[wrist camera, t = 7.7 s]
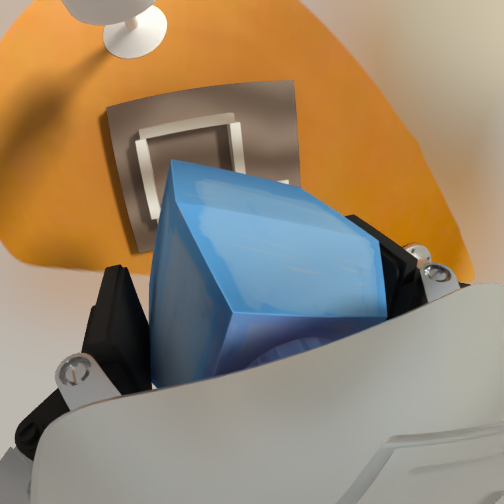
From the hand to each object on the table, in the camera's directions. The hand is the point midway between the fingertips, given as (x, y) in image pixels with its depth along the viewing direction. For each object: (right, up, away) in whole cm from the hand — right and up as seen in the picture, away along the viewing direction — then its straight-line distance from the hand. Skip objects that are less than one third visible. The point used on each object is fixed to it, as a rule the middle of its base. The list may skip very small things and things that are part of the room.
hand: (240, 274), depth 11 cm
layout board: (-4, +10, +19) cm, 22 cm away
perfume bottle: (-1, +2, +3) cm, 4 cm away
